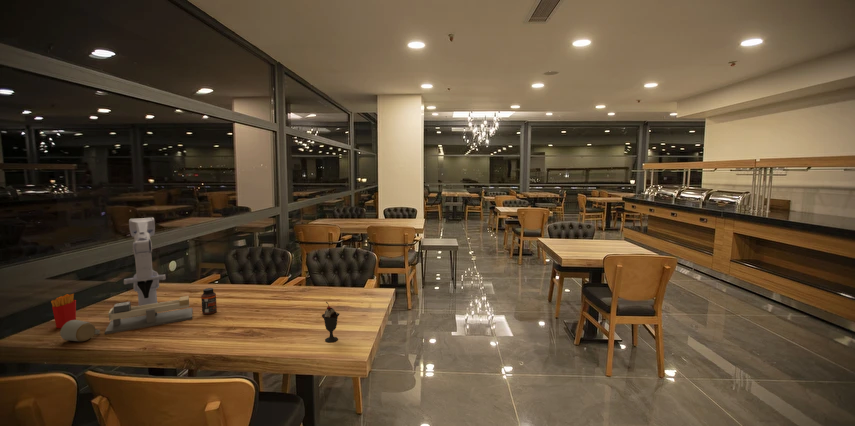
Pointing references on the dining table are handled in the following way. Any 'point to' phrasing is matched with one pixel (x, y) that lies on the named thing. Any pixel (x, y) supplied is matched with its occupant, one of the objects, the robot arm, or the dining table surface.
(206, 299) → the supplement bottle
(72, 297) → the french fries
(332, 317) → the sundae
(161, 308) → the beam
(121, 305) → the rider
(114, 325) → the stand
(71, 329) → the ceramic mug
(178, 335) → the dining table surface
